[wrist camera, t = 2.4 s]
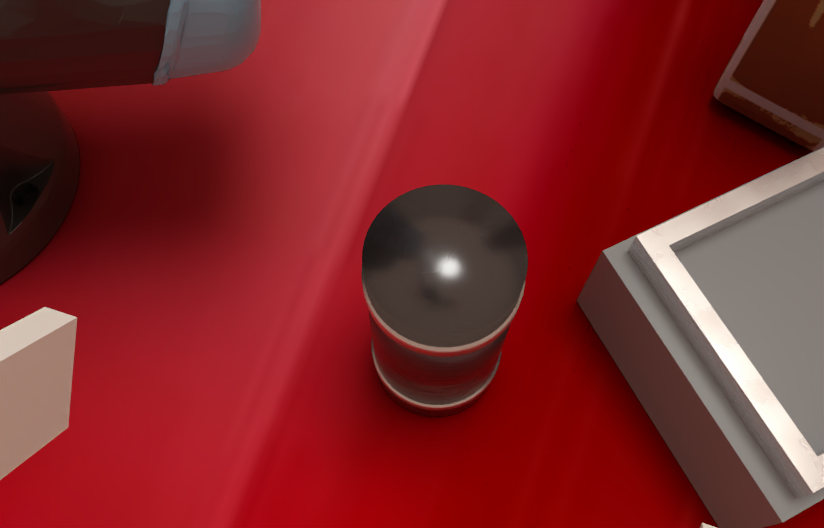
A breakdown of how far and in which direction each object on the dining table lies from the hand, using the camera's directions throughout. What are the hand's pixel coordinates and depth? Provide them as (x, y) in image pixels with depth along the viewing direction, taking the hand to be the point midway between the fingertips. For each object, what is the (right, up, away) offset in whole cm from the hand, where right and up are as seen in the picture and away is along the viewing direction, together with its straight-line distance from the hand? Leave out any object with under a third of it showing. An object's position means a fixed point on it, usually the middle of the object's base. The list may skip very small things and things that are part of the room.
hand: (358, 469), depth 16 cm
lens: (+2, -1, +23) cm, 23 cm away
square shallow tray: (+19, 0, +24) cm, 30 cm away
